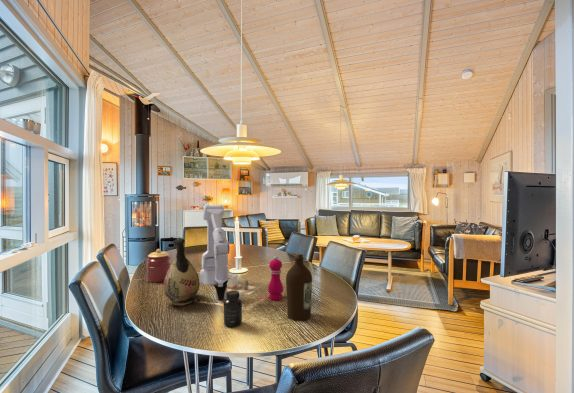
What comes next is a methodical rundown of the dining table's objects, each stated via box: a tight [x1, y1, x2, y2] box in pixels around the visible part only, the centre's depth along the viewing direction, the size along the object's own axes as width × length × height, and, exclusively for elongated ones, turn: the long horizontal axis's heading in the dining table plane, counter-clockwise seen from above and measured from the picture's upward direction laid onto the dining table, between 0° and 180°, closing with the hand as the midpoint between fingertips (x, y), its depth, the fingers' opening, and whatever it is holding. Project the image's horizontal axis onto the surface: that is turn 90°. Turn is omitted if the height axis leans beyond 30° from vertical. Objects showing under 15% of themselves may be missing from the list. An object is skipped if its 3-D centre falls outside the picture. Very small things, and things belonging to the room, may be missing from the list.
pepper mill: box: [267, 256, 284, 302], centre depth 139 cm, size 7×7×20 cm
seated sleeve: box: [227, 273, 239, 289], centre depth 151 cm, size 5×5×6 cm
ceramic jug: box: [163, 237, 201, 306], centre depth 133 cm, size 17×15×30 cm
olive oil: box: [285, 253, 313, 322], centre depth 119 cm, size 11×11×25 cm
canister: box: [145, 248, 172, 283], centre depth 170 cm, size 13×13×18 cm
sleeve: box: [215, 288, 227, 304], centre depth 136 cm, size 5×5×6 cm
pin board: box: [214, 279, 261, 296], centre depth 149 cm, size 20×12×6 cm, turn 68°
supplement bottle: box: [223, 291, 243, 328], centre depth 112 cm, size 7×7×12 cm
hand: (221, 297), depth 136 cm, fingers open, 6 cm apart
